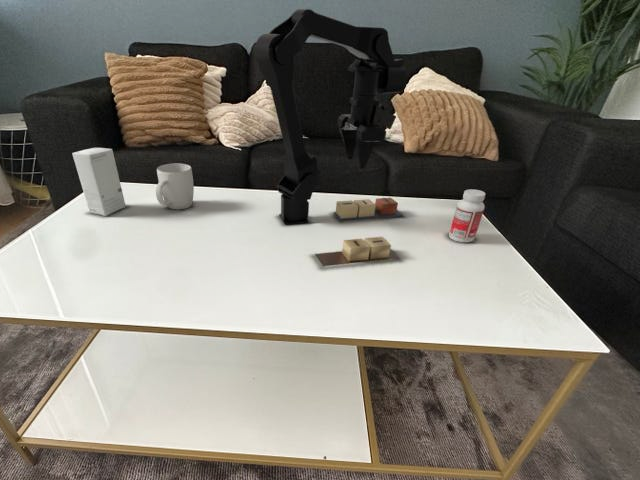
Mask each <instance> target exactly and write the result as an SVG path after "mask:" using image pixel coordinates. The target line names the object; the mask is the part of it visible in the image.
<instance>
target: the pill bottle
mask: <svg viewBox="0 0 640 480" xmlns="http://www.w3.org/2000/svg"><path fill="white" fill-rule="evenodd" d="M485 198H486V192H485V191H483V190H480V189H475V188H474V189H472V188H471V189H465V190H464V191H463V195H462V199H460V200H459V201H458V202H457V205H456V207H455V211H454V213H453V218H452V222H451V225H450V228H449V233H448V236H449V238H450V239H451V240H453V241H455V242H458V243H472V242H473V241H475V239H476V236H477V233H478V230H479V227H480V224H481V220H482V217H483V214H484V211H485V207H486V206H485V203H484V200H485Z"/></svg>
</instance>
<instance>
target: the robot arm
mask: <svg viewBox="0 0 640 480" xmlns="http://www.w3.org/2000/svg"><path fill="white" fill-rule="evenodd" d="M310 37H311V38H315V39H317V40H321V41H324V42H327V43H330V44H334V45H337V46H341V47H343V48H345V49H346V50H347V51H348V52H349V53H351V55H354V56H355V57H357V58H355V59H354V61H353V62H352V63H351V64H350V65H348V67H347V70H348V71H349V72H354V73H355V74H354V83H353V90H352V97H349V101H348V103H349V104H351V107H350V108H351V109H350V114H349V113H345V114H344V113H341V115H340V116H339V117H338V118H337V127H338V131H339V132H340V136H341V139H342V143H343V146H344V149H345V153H346V157H347V159H348V160H349V161H350V160H353V157H354V154H355V151H356V150H357V151H356V153H357V157H358V164H359V169H360V170H364V169H365V168H366V166H367V164H368V161H369V158H370V157H371V155H372V153H373V152H374V151H373V150H374V148H376V147H377V146H378V145H379V144H382V143H383V142H385V141H386V137H387V130H391V129H392V127H393V126H394V123H395V121H396V119H397V115H395V114H393V113H391V112H389V111H387V106H385V105H383V104H382V103H380V100H378V99H377V97H378V94H399V93H401V92H402V91H404V89H405V87H406V85H407V81H408V73H407V69H406V67H405V66H404V63H405V59H401V58H395V57H394V54H393V50H392V47H391V43H390V38H389V31H388V30H387V29H386V28H385V27H374V26H373V27H371V26H356V25H354V24H353V25H352V24H350V23H347V22H344V21H341V20H338V19H335V18H332V17H329V16H326V15H323V14H320V13H317V12H315V11H313V10H312V9H311V8H309V9H308V8H298V9H296V10H295V11H294V12H293V13H292V14H291V15H290V16H289V17H288V18H287V19H285V20H284V21H282V22H280V24H277V26H275V27H274V28H273V29H271V30H270V31H269V32H268V33H263V34H261V35H260V36H259V37H258V38H257V39H256V42H255V45H254V47H253V53H254V58H255V61H256V64H257V66H258V69H259V71H260V73H261V75H262V76H263V78H264V80H265V82H266V83H267V85H268V86H269V88H270V92H271V95H272V100H273V104H274V108H275V112H276V116H277V120H278V125H279V130H280V133H281V138H282V142H283V146H284V150H285V160H284V165H283V167H284V174H283V175H282V177H281V178H280V179H279V181H278V182H277V183H276V189H277V192H278V193H280V213H279V214H278V215H279V218H280V220H281V222H282V223H283V224H284V225H297V224H307V223H309V219H308V218H309V213H310V212H309V211H310V202H309V200H311V198H312V197H313V193H314V189H315V187H316V185H317V183H319V174H320V171H319V168H318V160H317V157H316V156H315V155H313V154H311V153H308V152H307V149H306V145H305V141H304V136H303V130H302V126H301V120H300V116H299V111H298V106H297V101H296V96H295V92H294V87H293V86H294V85H293V80H294V74H295V69H296V64H295V63H296V62H295V57H296V55H297V54H298V53H299V52H300V51H302V49H303V47H304V46H305V44H306V43H307V40H308V39H309V38H310ZM364 61H365V62H364ZM385 128H386V129H387V130H386V129H385ZM355 149H356V150H355Z"/></svg>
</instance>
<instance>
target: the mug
mask: <svg viewBox="0 0 640 480" xmlns="http://www.w3.org/2000/svg"><path fill="white" fill-rule="evenodd" d="M156 174H157V180H158V183H157V185H156V188H155V197H156V200H157V202H158V203H159V204H160V205H161V206H165V207H168V208H169V209H172V210H185V209H188V208H190V207H191V206H192V205H193V201H194V194H195V193H194V191H195V190H194V189H195V188H194V187H195V186H194V177H193V170H192V167H191V165H189V164H185V163H181V162H180V163H178V162H177V163H176V162H175V163H174V162H173V163H166V164H162V165H159V166H157V167H156Z"/></svg>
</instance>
